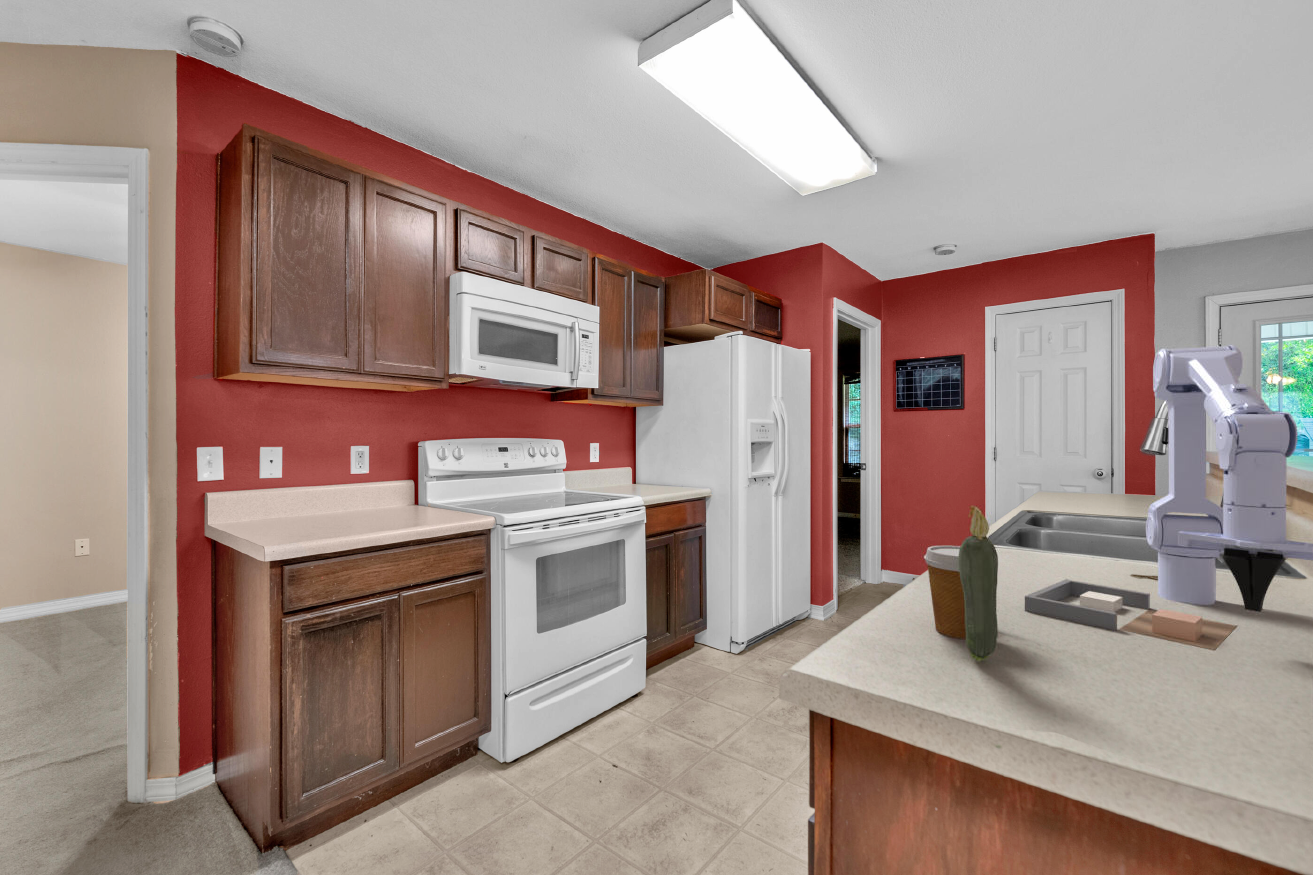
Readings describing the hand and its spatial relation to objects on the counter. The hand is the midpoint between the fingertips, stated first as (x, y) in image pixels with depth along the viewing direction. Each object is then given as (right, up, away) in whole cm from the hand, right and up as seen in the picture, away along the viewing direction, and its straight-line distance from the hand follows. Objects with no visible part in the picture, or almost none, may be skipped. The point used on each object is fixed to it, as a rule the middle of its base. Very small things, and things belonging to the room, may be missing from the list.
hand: (1253, 609), depth 75 cm
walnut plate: (-2, -6, +9) cm, 11 cm away
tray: (-8, -6, +17) cm, 20 cm away
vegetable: (-37, -7, -2) cm, 38 cm away
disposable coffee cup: (-33, -7, +10) cm, 35 cm away
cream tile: (-5, -6, +19) cm, 20 cm away
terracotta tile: (-4, -5, +6) cm, 9 cm away
